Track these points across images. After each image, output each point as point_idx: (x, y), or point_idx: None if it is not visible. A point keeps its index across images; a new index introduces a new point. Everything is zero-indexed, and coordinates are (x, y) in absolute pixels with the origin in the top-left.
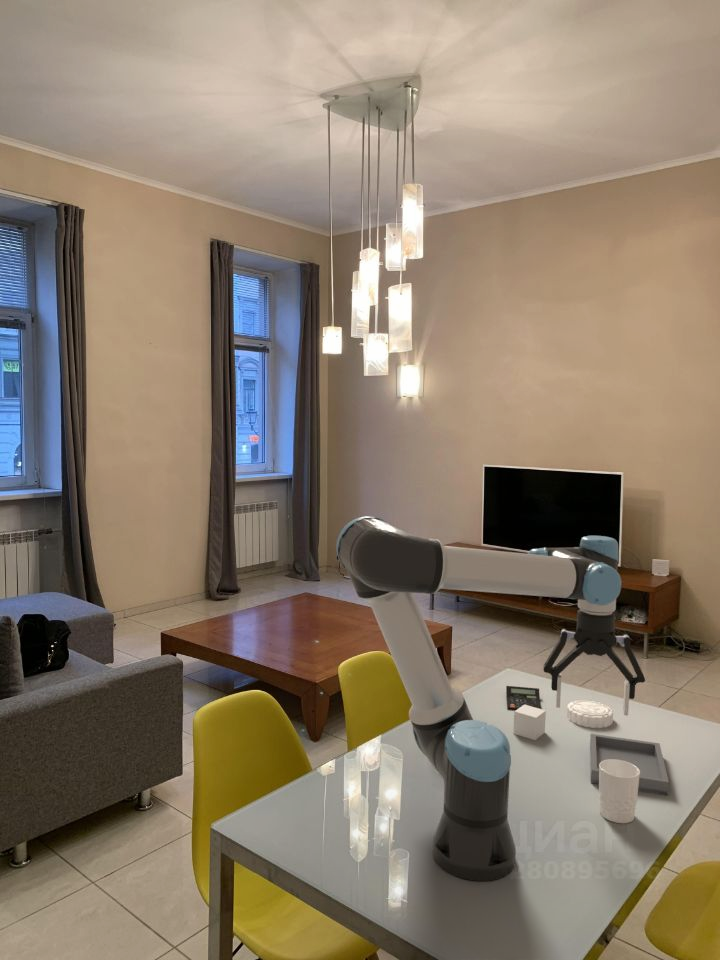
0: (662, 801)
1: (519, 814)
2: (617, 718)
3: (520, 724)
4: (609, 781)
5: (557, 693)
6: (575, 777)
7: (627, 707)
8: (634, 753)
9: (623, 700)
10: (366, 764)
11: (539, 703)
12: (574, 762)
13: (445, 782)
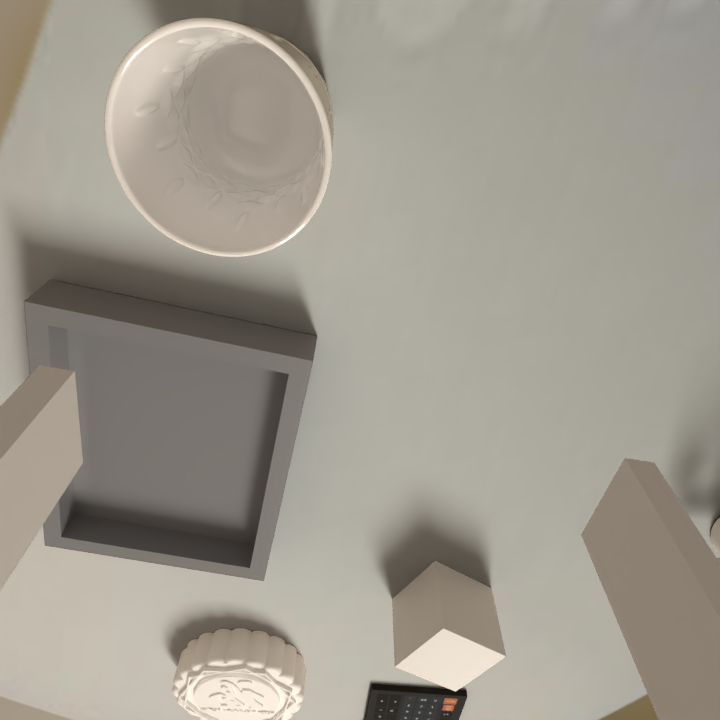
0: (74, 236)
1: (680, 65)
2: (164, 671)
3: (480, 612)
4: (295, 56)
5: (716, 567)
6: (363, 367)
7: (5, 413)
8: (137, 509)
9: (39, 529)
10: None
11: (368, 716)
12: (342, 455)
13: None
